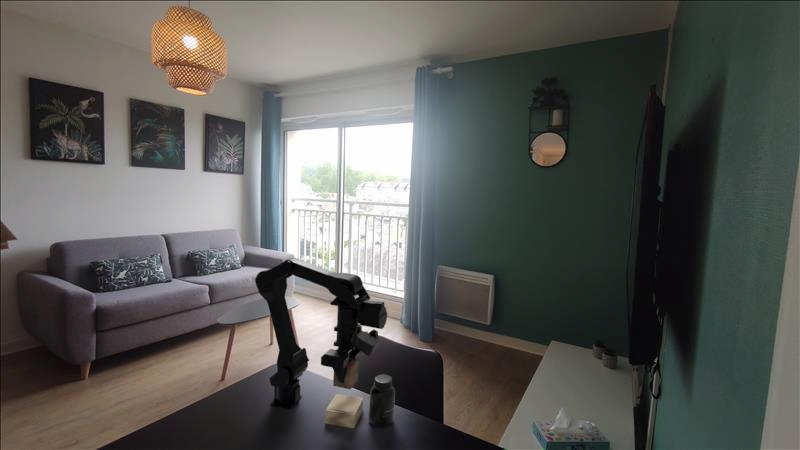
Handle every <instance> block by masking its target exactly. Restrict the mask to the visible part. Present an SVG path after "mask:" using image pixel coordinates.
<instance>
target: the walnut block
mask: <svg viewBox="0 0 800 450" xmlns="http://www.w3.org/2000/svg"><path fill="white" fill-rule="evenodd" d="M349 360H352V361H351V362H350V363H349V364H348V365H347V367H346V373H345V379H344V382H343V383H340V382H339V380H338V378H337V376H336V374H335V372H334V371H333V380H332V381H333V384H332V385H333V387H337V388H341V389H347V390H351V389H352V388H353V387H354V385H356V383H357V382H358V379H359V359H358V358H356V359H353V358H349Z"/></svg>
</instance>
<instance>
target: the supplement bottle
mask: <svg viewBox="0 0 800 450" xmlns="http://www.w3.org/2000/svg"><path fill="white" fill-rule="evenodd" d="M395 399H396V390H395V387H393V378H392V376H390V375H389V374H378V375H375V376H374V383H373V386H372V387H371V388H370V392H369V407H368V408H369V409H368V421H369V423H370V424H371V425H372V426H374V427H377V428H386V427H389V426H391V425H392V424H393V422H394V418H395V417H394V416H395V404H396V402H395V401H396V400H395Z"/></svg>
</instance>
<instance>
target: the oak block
mask: <svg viewBox="0 0 800 450" xmlns="http://www.w3.org/2000/svg"><path fill="white" fill-rule="evenodd" d="M363 410H364V398H363V397H358V396H352V395H344V394H339V393H337V394H335V396H333V399H332V400H331V402H330V403H329V405H328V406H327V408H326V409H325V424H327V425H333V426H338V427H343V428H344V427H345V428H351V429H355V427H356V425H357V423H358V421H359V419H360V418H361V415H362V413H363Z"/></svg>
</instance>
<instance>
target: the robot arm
mask: <svg viewBox="0 0 800 450" xmlns="http://www.w3.org/2000/svg"><path fill="white" fill-rule="evenodd" d="M292 276H295V277H298V278H300V279H303V280H305V281H307V282H311V283H313V284H316V285H318V286H321V287H323V288H325V289H327V291H328V292H330V294H331V295H333V296H334V297H335V298H334V299H333V300H332V301H330V303H329V304H330V306H336V307H337V313H336V315H337V317H336V319H337V320H336V326H334V327H333V332H336V339H335V340H334V342H333V344H332V345H333V347H337V349H334V348H330V349H328V351H326V352H325V353H324V354H323V355H322V356H320V366H324V367H328V368H331V369H332V370H333V373H334V372H335V374H336V376H337V378H338V380H339V382H340V383H343V382H344V379H345V373H346V367H347V365H348V364H349V363H350V362H351V361H352V360H349V358H353V359H358V358H357V357H358V355H359V353H361V352H362V353H363V354H364V355H365V356H369V357H370V356H371V355H372V354H373V353H374V352H375V350H377V349H376V348H377V347H378V344H379V343H380V338H379V331H378V330H376V329H380V330H383V329H384V328H385V325H386V324H387V320H388V312H387V307H386V306H385V301H379V300H378V301H375V300H371V297H370V295H369V293H368V292H367V290H366V288H365V286H364V284H363V280H362V278H361V277H360V276H359V275H357V274H355V273H354V274H353V273H348V272H335V271H331V270H328V269H326V268H322V267H320V266H317V265H315V264H312V263H309V262H306V261H303V260H301V259H300V258H298V257H292V258H289V259H284V261H283V262H281V263H280V264H277V265H276V266H273V267H271V268H269V269H265V270H261V271H260V272H258V273H257V275H256V276H255V279H254V280H255V286H256V289H257V290H258V293H259V295H260V296H261V297H262V298H263V299H264V300H265V301H266V303H267V307H268V310H269V313H270V314H269V316H270V317H271V318H270V319H271V321H272V325H273V326H272V327H273V330H274V334H275V339H276V342H277V347H278V354H277V360H276V368H277V371H276V372H275V373H274V374H273V375H271V376H270V377H269V383H270V386H271V387H274V390H273V393H274V394H273V398H274V399H272V400H271V402H270V405H272V406H278V407H282V408H285V409H286V408H287V409H291V408H292V407H293V406H294V405H296V403H297V402H298V401H299V400H300V399H302V397H303V396H302V394H301V385H300V379H299V378H300V377H301V376H303V375H304V374H303V373H304V372H306V370H307V368H308V367H309V361H310V359H309V357H308V353H307V349H306V348H305V347H303V348H301V347H300V345H298V344H297V340H296V337H295V332H294V328H293V324H292V320H291V317H290V312H289V309H288V304H287V300H286V293H287V287H288V282H287V281H288V280H287V279H289V278H290V277H292ZM363 327H369V328H373V329H372V330H371V331H369V332H368V331H366V330H365V331H364V330H363V329H362V328H363Z"/></svg>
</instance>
